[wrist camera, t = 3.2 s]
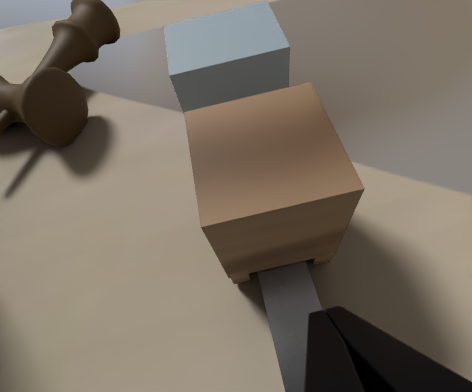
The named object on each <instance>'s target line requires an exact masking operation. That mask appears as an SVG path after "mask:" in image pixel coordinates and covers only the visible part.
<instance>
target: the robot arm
mask: <svg viewBox="0 0 472 392" xmlns="http://www.w3.org/2000/svg"><path fill="white" fill-rule="evenodd" d="M303 392H472V382H471V381H469V380H467V379H466V378H464V377H462V376H460V375H459V374H457V373H455V372H454V371H452V370H450V369H448V368H447V367H445V366H443V365H441V364H440V363H438V362H436V361H435V360H433V359H431V358H429V357H428V356H426V355H424V354H422V353H421V352H419V351H417V350H416V349H414V348H412V347H410V346H409V345H407V344H405V343H403V342H402V341H400V340H398V339H397V338H395V337H393V336H391V335H390V334H388V333H386V332H384V331H383V330H381V329H379V328H378V327H376V326H374V325H372V324H371V323H369V322H367V321H365V320H364V319H362V318H360V317H358V316H357V315H355V314H353V313H352V312H350V311H348V310H346V309H345V308H343V307H341V306H337V307H332V308H328V309H326V310H325V311H323V310H319V311H315V312H311V313H309V315H308V330H307V345H306V360H305V376H304V391H303Z"/></svg>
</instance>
